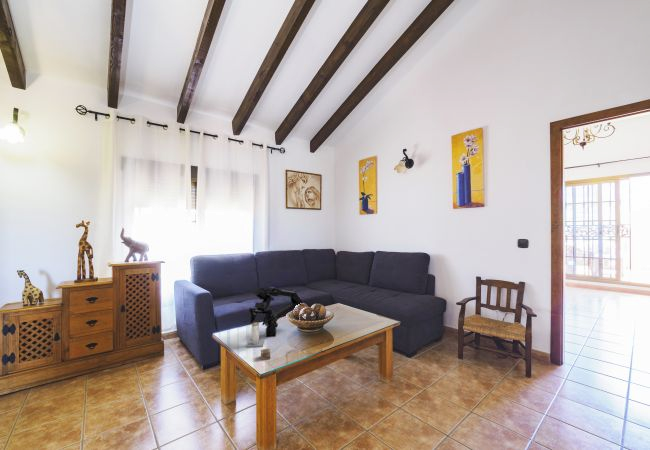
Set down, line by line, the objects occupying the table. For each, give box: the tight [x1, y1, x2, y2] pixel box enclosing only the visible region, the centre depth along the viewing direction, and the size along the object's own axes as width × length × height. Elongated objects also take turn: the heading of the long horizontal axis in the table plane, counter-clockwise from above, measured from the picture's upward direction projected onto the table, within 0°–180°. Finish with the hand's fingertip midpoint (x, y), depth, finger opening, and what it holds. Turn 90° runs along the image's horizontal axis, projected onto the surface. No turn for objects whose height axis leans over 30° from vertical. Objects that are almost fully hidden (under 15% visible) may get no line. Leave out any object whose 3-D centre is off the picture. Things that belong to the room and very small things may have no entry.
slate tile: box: [246, 338, 266, 348], centre depth 181 cm, size 10×10×1 cm
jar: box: [251, 321, 260, 345], centre depth 181 cm, size 5×5×13 cm
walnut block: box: [260, 348, 271, 361], centre depth 162 cm, size 5×5×4 cm
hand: (256, 324), depth 182 cm, fingers open, 9 cm apart
